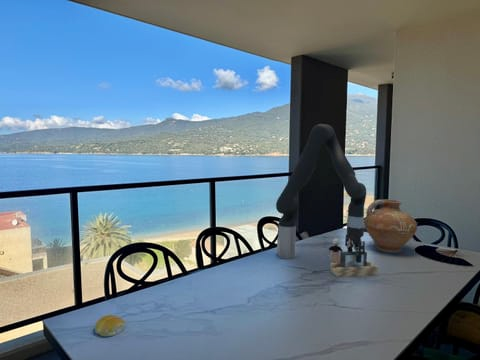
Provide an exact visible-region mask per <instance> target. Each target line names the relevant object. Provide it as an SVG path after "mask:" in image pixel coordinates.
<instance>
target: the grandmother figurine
mask: <svg viewBox="0 0 480 360" xmlns="http://www.w3.org/2000/svg"><path fill="white" fill-rule="evenodd" d="M339 243H340V241H339V239H338V238H334V239H333V240H332V246H330V247H329V248H328V250H327V253H330V252H331V251H332V252H331V263H340V252H344V251H343V249H342V247H340V246H339Z"/></svg>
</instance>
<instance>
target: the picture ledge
mask: <svg viewBox="0 0 480 360" xmlns="http://www.w3.org/2000/svg"><path fill="white" fill-rule="evenodd" d="M329 271H330V273H332V274H333V275H334V276H335V277H337V278H344V277H345V278H346V277H366V276H367V277H368V276H370V277H371V276H378V275H379V266H377V265H372V262H371V261H367V263H366V266H360V267H340V263H337V262H336V263H332V262H330V263H329Z"/></svg>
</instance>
